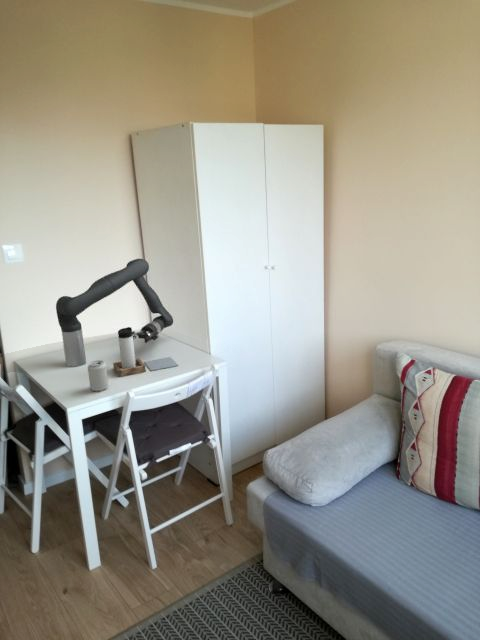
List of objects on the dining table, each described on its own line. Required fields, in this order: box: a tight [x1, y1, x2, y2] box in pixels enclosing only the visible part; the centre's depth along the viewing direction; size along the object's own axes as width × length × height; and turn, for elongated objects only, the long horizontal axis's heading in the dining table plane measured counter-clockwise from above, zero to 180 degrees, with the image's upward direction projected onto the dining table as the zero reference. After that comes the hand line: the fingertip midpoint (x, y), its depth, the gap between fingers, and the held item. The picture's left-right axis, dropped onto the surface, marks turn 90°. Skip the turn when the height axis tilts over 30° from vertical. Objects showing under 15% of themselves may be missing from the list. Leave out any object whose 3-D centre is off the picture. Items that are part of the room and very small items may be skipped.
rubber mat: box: [143, 356, 179, 372], centre depth 242 cm, size 13×13×1 cm
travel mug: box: [117, 326, 137, 370], centre depth 233 cm, size 6×7×20 cm
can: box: [87, 359, 110, 392], centre depth 215 cm, size 8×8×12 cm
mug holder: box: [112, 357, 147, 378], centre depth 235 cm, size 12×12×3 cm
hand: (137, 340), depth 243 cm, fingers open, 8 cm apart
